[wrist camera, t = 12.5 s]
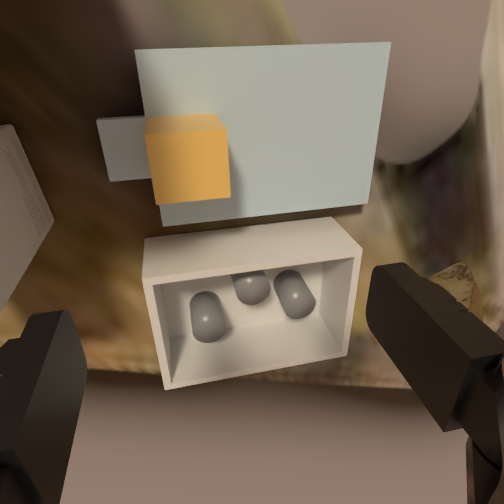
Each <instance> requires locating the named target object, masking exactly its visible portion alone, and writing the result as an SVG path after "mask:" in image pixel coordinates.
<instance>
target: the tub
mask: <svg viewBox="0 0 504 504" xmlns="http://www.w3.org/2000/svg"><path fill="white" fill-rule="evenodd" d="M362 251H363V249H362V248H361V247H360V246H359V245H358V244H357V243H356V242H355V241H354V240H353V238H352V237H351V236H350V235H349V234H348V233H347V232H346V231H345V230H344V229H343V228H342V227H341V226H340V225H339V224H338V223H337V222H336V221H335V220H334V219H333V218H332V217H331V216H329V217H321V218H312V219H304V220H295V221H287V222H278V223H269V224H261V225H252V226H244V227H235V228H227V229H218V230H210V231H201V232H193V233H184V234H175V235H167V236H158V237H150V238H145V239H144V254H143V269H142V282H143V287H144V292H145V297H146V302H147V306H148V311H149V316H150V321H151V326H152V330H153V335H154V340H155V345H156V350H157V354H158V359H159V364H160V369H161V374H162V379H163V383H164V388H165V390H168V389H173V388H179V387H184V386H189V385H195V384H200V383H205V382H210V381H215V380H221V379H226V378H232V377H237V376H242V375H248V374H253V373H258V372H263V371H269V370H274V369H279V368H285V367H290V366H295V365H301V364H306V363H311V362H316V361H322V360H327V359H332V358H338V357H343V356H347V352H348V345H349V338H350V332H351V325H352V318H353V311H354V305H355V298H356V291H357V284H358V278H359V271H360V264H361V257H362Z"/></svg>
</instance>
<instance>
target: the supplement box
mask: <svg viewBox="0 0 504 504" xmlns="http://www.w3.org/2000/svg"><path fill="white" fill-rule="evenodd" d="M54 222H55V220H54V218H53V215H52V213H51V211H50V208H49V206H48V204H47V201H46V199H45V197H44V195H43V193H42V190H41V187H40V185H39V183H38V181H37V179H36V176H35V174H34V172H33V169H32V167H31V165H30V163H29V161H28V158H27V156H26V154H25V151H24V149H23V147H22V145H21V142H20V140H19V138H18V136H17V134H16V132H15V129H14V127H13V126H12V125H11V124H6V125H2V126H0V313H1V312H2V310H3V308H4V306H5V305H6V303H7V301H8V300H9V298H10V296H11V294H12V293H13V291H14V290H15V288H16V286H17V284H18V283H19V281H20V279H21V278H22V276H23V274H24V273H25V271H26V269H27V267H28V266H29V264H30V262H31V261H32V259H33V257H34V256H35V254H36V252H37V250H38V249H39V247H40V245H41V244H42V242H43V240H44V239H45V237H46V235H47V233H48V232H49V230H50V228H51V227H52V225H53V223H54Z"/></svg>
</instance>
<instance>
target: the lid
mask: <svg viewBox="0 0 504 504" xmlns="http://www.w3.org/2000/svg"><path fill="white" fill-rule="evenodd" d="M390 46H391V42H365V43H333V44H299V45H267V46H234V47H202V48H169V49H136V50H134V51H135V57H136V63H137V69H138V76H139V82H140V88H141V94H142V101H143V107H144V113H145V115H142V116H125V117H109V118H98V119H97V120H96V123H97V127H98V132H99V136H100V140H101V145H102V149H103V154H104V158H105V163H106V167H107V171H108V176H109V180H110V182H113V181H124V180H135V179H146V178H152V184H153V190H154V196H155V202H156V205H159V207H160V213H161V219H162V225H163V227H166V226H174V225H183V224H192V223H201V222H210V221H219V220H227V219H236V218H245V217H254V216H263V215H272V214H280V213H289V212H298V211H307V210H316V209H325V208H333V207H342V206H351V205H360V204H368V198H369V191H370V184H371V178H372V171H373V164H374V157H375V150H376V143H377V136H378V130H379V123H380V116H381V108H382V102H383V95H384V88H385V81H386V75H387V68H388V61H389V54H390Z"/></svg>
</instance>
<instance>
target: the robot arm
mask: <svg viewBox="0 0 504 504" xmlns="http://www.w3.org/2000/svg"><path fill="white" fill-rule="evenodd" d="M366 319H367V323H368V326H369V328H370V330H371V332H372V333H373V335H374V336H375V338H376V339H377V340H378V342H379V343H380V344H381V346H382V347H383V349H384V350H385V351H386V353H387V354H388V356H389V357H390V358H391V360H392V361H393V363H394V364H395V365H396V367H397V368H398V369H399V371H400V372H401V374H402V375H403V376H404V378H405V379H406V381H407V382H408V383H409V385H410V386H411V387H412V389H413V390H414V392H415V393H416V394H417V396H418V397H419V398H420V400H421V401H422V403H423V404H424V405H425V407H426V408H427V410H428V411H429V412H430V414H431V415H432V417H433V418H434V419H435V421H436V422H437V423H438V425H439V426H440V428H441V429H442V431H443V432H447V431H452V430H456V429H460V428H463V429H464V430H465V431H466V432H467V434H468V435H469V437H468V439H467V442H466V468H467V504H504V340H503V339H502V338H500V337H499V336H498V335H497V334H496V333H495V332H494V331H492V330H491V329H490V328H489V327H488V326H487V325H486V324H484V323H483V322H482V321H481V320H480V319H479V318H478V317H476V316H475V315H474V314H473V313H472V312H469V311H468V309H467V308H466V307H465V306H464V305H463V304H462V303H461V302H457V300H456V298H455V297H454V296H453V295H451V294H450V293H449V292H448V291H447V290H446V289H445V288H443V287H442V286H440V285H438V284H436V283H434V282H432V281H430V280H428V279H426V278H424V277H420V276H419V275H418V274H417V273H416V272H415V271H413V270H412V269H411V268H410V267H409V266H408V265H407V264H405V263H403V262H400V263H393V264H386V265H379V266H376V267H375V268H374V269H373V271H372V275H371V281H370V287H369V293H368V299H367V306H366ZM86 379H87V363H86V357H85V354H84V351H83V348H82V345H81V342H80V339H79V336H78V334H77V331H76V328H75V325H74V322H73V319H72V316H71V314H70V312H69V311H68V310H60V311H53V312H46V313H39V314H33V315H31V316H30V318H29V319H28V322H27V324H26V326H25V328H24V330H23V332H22V334H21V336H20V338H16V339H9V340H8V341H7V342H6V343H5V344H4V345H3V346H2V347H1V348H0V504H59V503H60V498H61V494H62V489H63V485H64V480H65V476H66V471H67V466H68V462H69V457H70V453H71V448H72V443H73V439H74V434H75V430H76V425H77V421H78V416H79V411H80V407H81V402H82V398H83V393H84V389H85V383H86Z"/></svg>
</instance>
